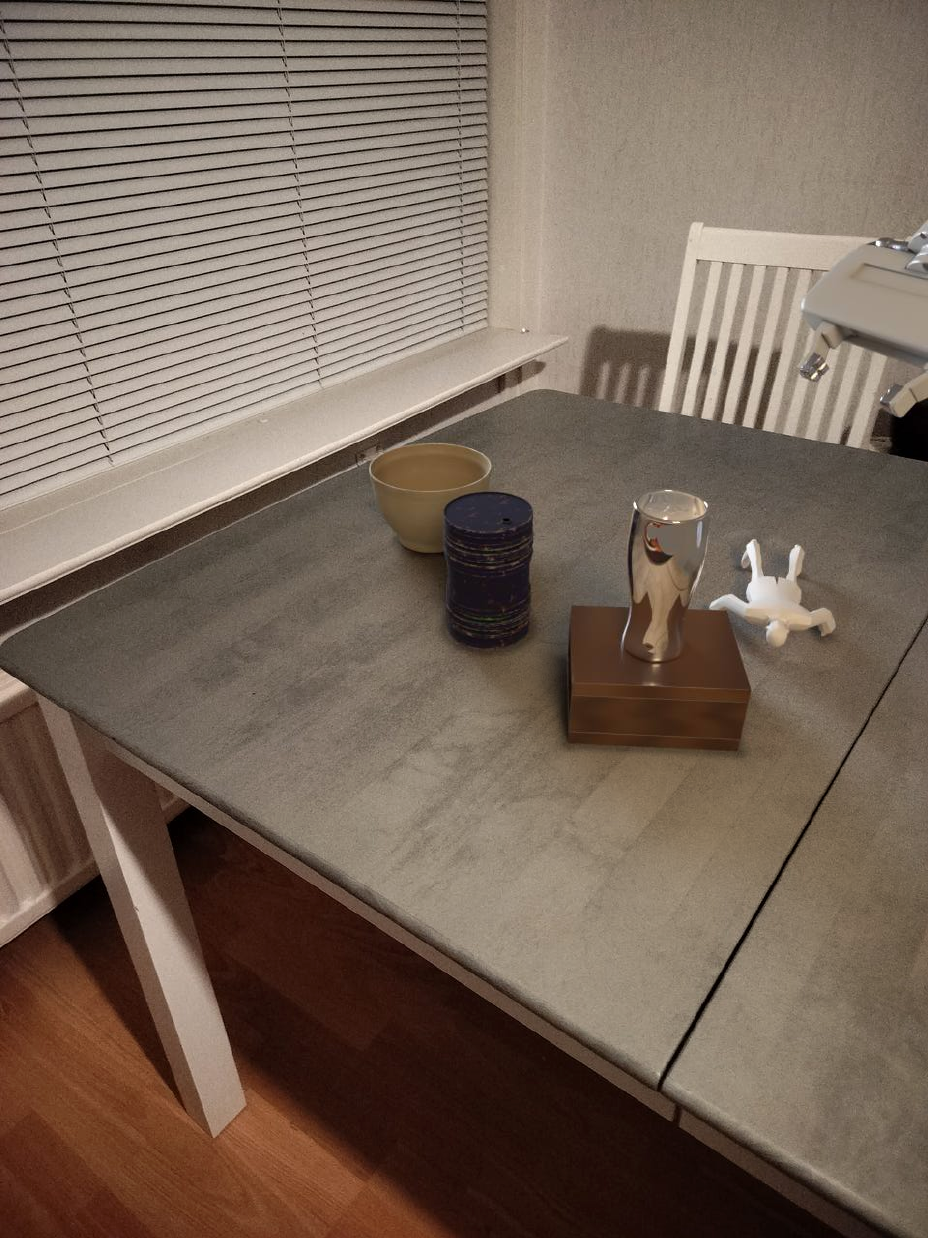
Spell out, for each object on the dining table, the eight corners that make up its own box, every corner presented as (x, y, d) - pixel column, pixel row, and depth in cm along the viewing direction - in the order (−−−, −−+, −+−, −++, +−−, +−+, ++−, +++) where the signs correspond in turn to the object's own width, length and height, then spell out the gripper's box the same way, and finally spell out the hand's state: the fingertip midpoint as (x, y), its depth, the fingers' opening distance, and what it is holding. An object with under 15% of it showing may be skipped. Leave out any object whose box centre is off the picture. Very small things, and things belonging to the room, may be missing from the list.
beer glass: (604, 650, 79) (618, 510, 71) (634, 616, 84) (650, 481, 76) (673, 674, 76) (696, 530, 68) (700, 637, 81) (724, 498, 72)
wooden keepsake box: (715, 668, 89) (726, 610, 85) (737, 751, 78) (751, 690, 74) (566, 662, 90) (570, 605, 86) (568, 743, 80) (572, 682, 75)
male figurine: (712, 577, 108) (701, 663, 86) (720, 533, 105) (710, 610, 84) (823, 593, 104) (840, 687, 83) (834, 547, 102) (854, 632, 80)
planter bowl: (493, 566, 108) (494, 489, 102) (370, 568, 108) (363, 492, 102) (489, 510, 121) (489, 440, 115) (380, 512, 121) (374, 442, 115)
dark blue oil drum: (429, 623, 97) (423, 509, 89) (491, 593, 102) (491, 482, 94) (485, 661, 91) (484, 542, 82) (548, 627, 96) (553, 512, 87)
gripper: (857, 209, 72) (747, 337, 75) (1081, 248, 56) (931, 408, 59) (883, 259, 76) (777, 378, 79) (1099, 308, 60) (957, 456, 63)
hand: (844, 392), depth 69 cm, fingers open, 8 cm apart
